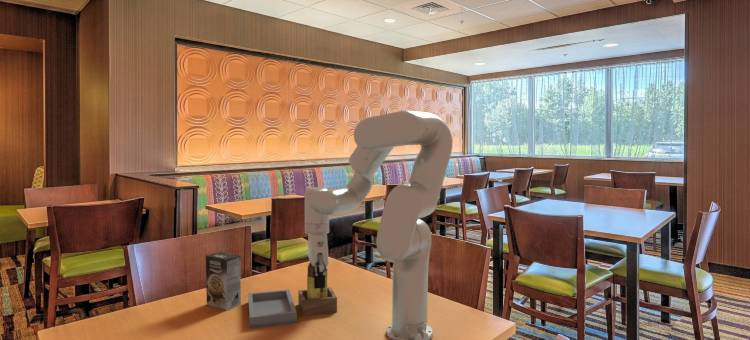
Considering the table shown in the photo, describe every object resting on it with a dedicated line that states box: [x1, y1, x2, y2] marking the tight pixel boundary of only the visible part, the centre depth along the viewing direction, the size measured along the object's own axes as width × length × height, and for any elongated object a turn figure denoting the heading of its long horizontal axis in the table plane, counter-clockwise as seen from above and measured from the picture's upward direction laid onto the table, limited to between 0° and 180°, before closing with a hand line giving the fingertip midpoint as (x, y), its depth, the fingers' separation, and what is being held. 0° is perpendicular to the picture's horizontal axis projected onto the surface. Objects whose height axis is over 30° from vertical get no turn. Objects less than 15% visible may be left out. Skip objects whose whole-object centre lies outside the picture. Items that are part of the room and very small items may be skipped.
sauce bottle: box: [306, 257, 328, 299], centre depth 137 cm, size 7×6×20 cm
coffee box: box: [205, 251, 242, 311], centre depth 139 cm, size 9×6×16 cm
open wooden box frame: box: [298, 287, 338, 317], centre depth 137 cm, size 10×10×4 cm
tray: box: [247, 288, 298, 329], centre depth 134 cm, size 20×13×3 cm, turn 17°
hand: (317, 283), depth 137 cm, fingers open, 7 cm apart
